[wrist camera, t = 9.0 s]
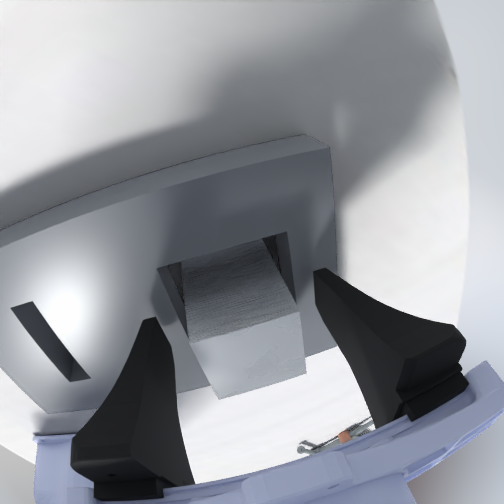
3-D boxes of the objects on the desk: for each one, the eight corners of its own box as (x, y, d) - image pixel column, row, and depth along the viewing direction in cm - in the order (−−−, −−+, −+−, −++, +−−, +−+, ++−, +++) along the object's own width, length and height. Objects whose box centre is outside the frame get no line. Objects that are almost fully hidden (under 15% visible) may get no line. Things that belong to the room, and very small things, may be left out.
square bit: (202, 310, 18) (218, 399, 13) (179, 253, 16) (189, 343, 11) (270, 290, 18) (306, 373, 13) (257, 231, 16) (299, 311, 11)
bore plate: (52, 386, 19) (47, 413, 17) (-46, 253, 12) (-66, 279, 10) (321, 319, 21) (336, 346, 19) (305, 134, 14) (329, 147, 12)
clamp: (402, 435, 37) (345, 468, 39) (396, 424, 39) (340, 457, 41) (375, 416, 29) (297, 459, 31) (366, 400, 31) (292, 443, 32)
